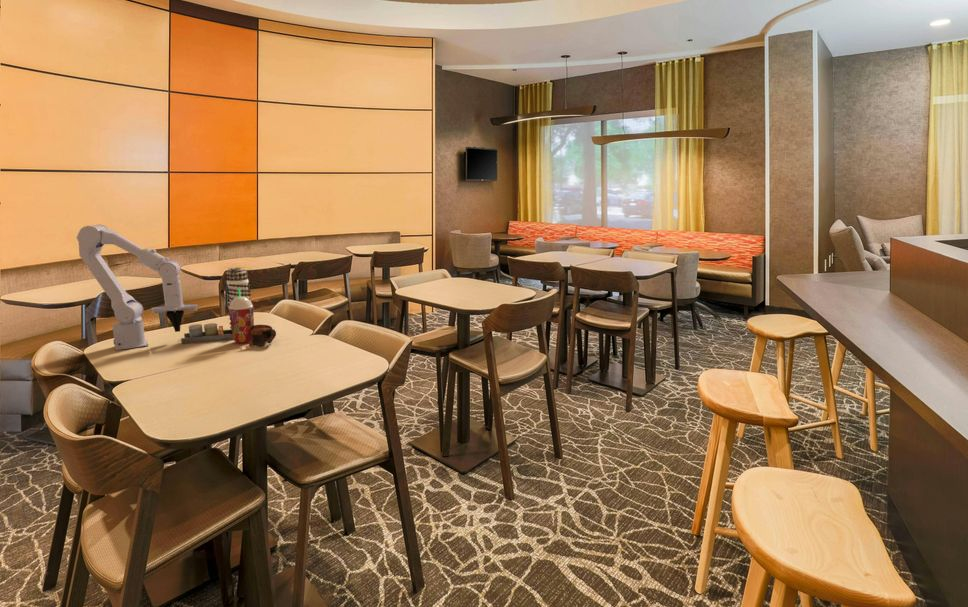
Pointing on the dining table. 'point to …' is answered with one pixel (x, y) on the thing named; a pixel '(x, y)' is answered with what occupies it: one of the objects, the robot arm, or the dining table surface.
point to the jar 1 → (195, 330)
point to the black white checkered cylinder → (237, 284)
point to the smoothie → (241, 319)
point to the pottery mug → (261, 335)
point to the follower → (220, 330)
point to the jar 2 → (211, 329)
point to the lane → (207, 337)
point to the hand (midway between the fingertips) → (177, 331)
